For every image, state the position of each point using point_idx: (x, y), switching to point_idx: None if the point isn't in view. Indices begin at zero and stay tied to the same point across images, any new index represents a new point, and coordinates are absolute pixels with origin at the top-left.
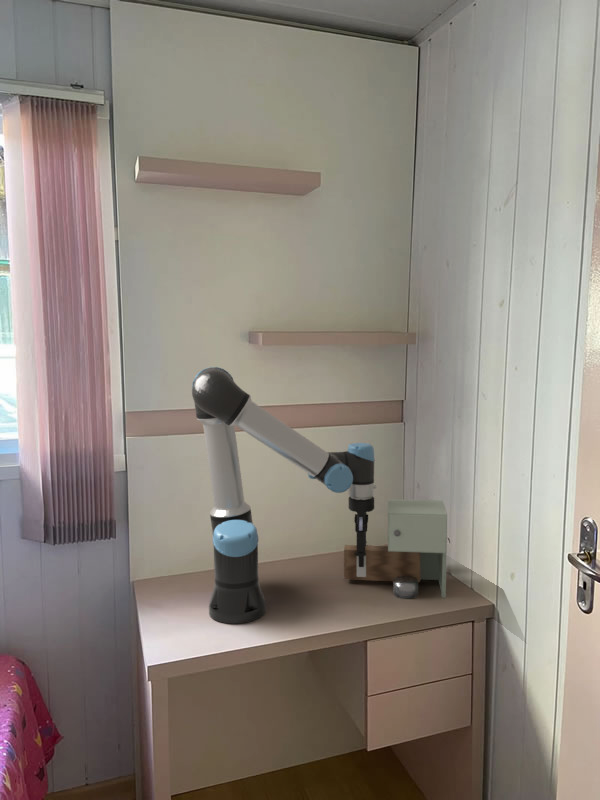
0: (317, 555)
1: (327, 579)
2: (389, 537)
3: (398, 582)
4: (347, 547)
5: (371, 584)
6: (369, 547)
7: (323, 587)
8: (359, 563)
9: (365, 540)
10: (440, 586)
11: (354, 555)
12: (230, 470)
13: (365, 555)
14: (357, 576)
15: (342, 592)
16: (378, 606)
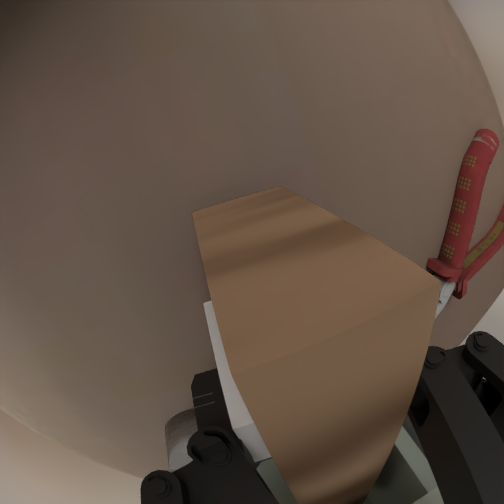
0: (457, 21)
1: (224, 81)
2: None
3: (183, 464)
4: (349, 364)
5: None
6: (359, 463)
7: (95, 108)
8: (196, 402)
9: (427, 458)
10: (275, 464)
11: (190, 438)
12: None
13: (255, 460)
14: (205, 308)
15: (80, 240)
16: (65, 398)
